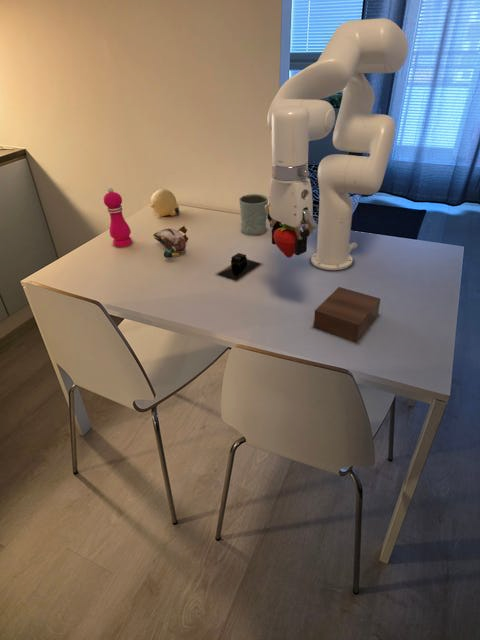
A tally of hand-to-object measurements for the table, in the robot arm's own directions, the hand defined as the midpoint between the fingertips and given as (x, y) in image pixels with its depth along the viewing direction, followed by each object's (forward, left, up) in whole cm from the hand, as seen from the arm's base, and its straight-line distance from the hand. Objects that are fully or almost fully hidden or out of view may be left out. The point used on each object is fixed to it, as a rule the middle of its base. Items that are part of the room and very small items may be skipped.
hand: (288, 247), depth 97 cm
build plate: (-5, -26, -18) cm, 32 cm away
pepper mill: (+13, -71, -18) cm, 75 cm away
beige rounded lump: (-13, -85, -18) cm, 88 cm away
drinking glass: (-28, -46, -18) cm, 57 cm away
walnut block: (-7, +14, -17) cm, 23 cm away
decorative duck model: (+5, -52, -18) cm, 55 cm away
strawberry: (0, 0, -3) cm, 3 cm away
